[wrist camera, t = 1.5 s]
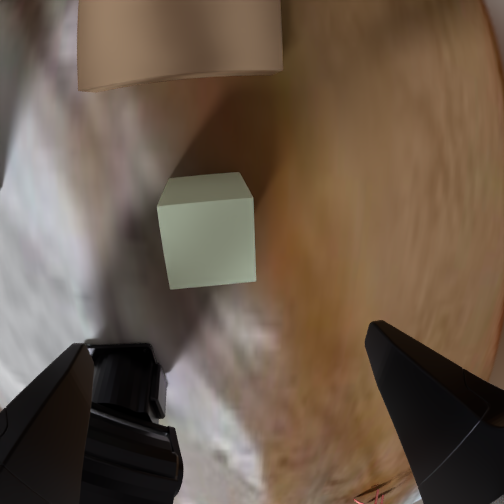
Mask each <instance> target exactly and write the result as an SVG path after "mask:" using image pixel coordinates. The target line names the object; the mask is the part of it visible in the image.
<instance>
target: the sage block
mask: <svg viewBox="0 0 504 504" xmlns="http://www.w3.org/2000/svg"><path fill="white" fill-rule="evenodd" d="M157 212H158V220H159V226H160V233H161V239H162V246H163V252H164V258H165V264H166V270H167V275H168V281H169V286H170V290H171V289H183V288H193V287H204V286H214V285H225V284H235V283H244V282H254V281H256V263H255V232H254V201H253V196H252V194H251V192H250V191H249V189H248V187H247V185H246V183H245V182H244V180H243V178H242V176H241V174H240V173H239V172H232V173H219V174H207V175H196V176H186V177H176V178H169V179H168V181H167V184H166V186H165V188H164V191H163V193H162V195H161V198H160V200H159V202H158V205H157Z"/></svg>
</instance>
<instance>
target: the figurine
mask: <svg viewBox="0 0 504 504" xmlns="http://www.w3.org/2000/svg"><path fill="white" fill-rule="evenodd" d="M378 485H379V484H378ZM375 486H377V485H375ZM373 487H374V486H373ZM378 494H379V489H377V492H376V498H375V503H374V504H377V499H378ZM383 499H384V495H382V498H381V504H383ZM353 500H354V501H356V499H353ZM356 502H357V503H359V502H360V501H358V500H357V501H356ZM359 504H364V503H362V502H360V503H359Z"/></svg>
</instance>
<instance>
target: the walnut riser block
mask: <svg viewBox="0 0 504 504" xmlns="http://www.w3.org/2000/svg"><path fill="white" fill-rule="evenodd" d="M77 70H78V91H84V92H101V91H106V90H111V89H116V88H122V87H128V86H134V85H140V84H147V83H154V82H162V81H171V80H180V79H191V78H204V77H220V76H248V75H273V74H275V73H278V72H280V71H282V70H283V50H282V24H281V3H280V0H79V6H78V28H77Z"/></svg>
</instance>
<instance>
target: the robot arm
mask: <svg viewBox="0 0 504 504" xmlns="http://www.w3.org/2000/svg"><path fill="white" fill-rule="evenodd" d="M365 348H366V351H367V354H368V357H369V361H370V364H371V367H372V370H373V374H374V377H375V380H376V383H377V386H378V388H379V391H380V393H381V395H382V398H383V400H384V403H385V405H386V407H387V410H388V412H389V414H390V417H391V419H392V422H393V424H394V427H395V429H396V431H397V434H398V436H399V439H400V441H401V444H402V446H403V449H404V452H405V454H406V457H407V459H408V462H409V464H410V467H411V470H412V472H413V475H414V478H415V480H416V483H417V486H419V487H418V489H419V492H420V495H421V497H422V500H423V503H424V504H504V390H502V389H500V388H498V387H496V386H494V385H492V384H490V383H488V382H486V381H484V380H482V379H481V378H479V377H477V376H475V375H474V374H472V373H470V372H469V371H467V370H465V369H462V367H460V366H459V365H457V364H455V363H454V362H452V361H450V360H449V359H447V358H445V357H444V356H442V355H440V354H439V353H437V352H435V351H434V350H432V349H430V348H429V347H427V346H425V345H424V344H422V343H420V342H419V341H417V340H415V339H414V338H412V337H410V336H408V335H407V334H405V333H403V332H402V331H400V330H398V329H397V328H395V327H393V326H392V325H390V324H388V323H387V322H385V321H383V320H378V321H373V322H371V323H370V324H369V327H368V331H367V335H366V338H365ZM145 349H148V350H145ZM166 388H167V382H166V379H165V376H164V373H163V370H162V367H161V365H160V364H159V363H157V362H156V358H155V355H154V352H153V348H152V346H151V345H150V344H147V343H142V344H120V345H85V344H84V343H73V344H72V345H71V346H69V347H68V348H67V349H66V350H65V351H64V352H63V353H62V354H61V355H60V356H59V357H58V358H56V359H55V360H54V361H53V362H52V363H51V364H50V365H49V366H48V367H47V368H46V369H45V370H44V371H42V372H41V373H40V374H39V375H38V376H37V377H36V378H35V379H34V380H33V381H32V382H31V383H30V384H29V385H28V386H27V387H26V388H25V389H24V390H23V391H22V392H20V393H19V394H18V395H17V396H16V397H15V398H14V399H13V400H12V401H11V402H10V403H9V404H8V405H7V406H6V408H4V409H3V410H2V411H1V412H0V504H173V500H174V497H175V496H176V495H177V494H178V492H179V490H180V487H181V484H182V479H183V461H182V457H181V452H180V448H179V444H178V440H177V435H176V431H175V428H174V427H170V426H168V427H166V426H163V425H159V424H158V422H159V419H163V418H164V417H165V409H166Z"/></svg>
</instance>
